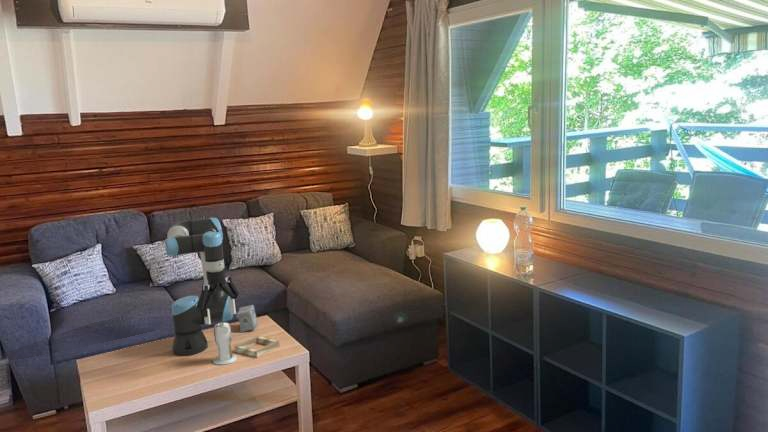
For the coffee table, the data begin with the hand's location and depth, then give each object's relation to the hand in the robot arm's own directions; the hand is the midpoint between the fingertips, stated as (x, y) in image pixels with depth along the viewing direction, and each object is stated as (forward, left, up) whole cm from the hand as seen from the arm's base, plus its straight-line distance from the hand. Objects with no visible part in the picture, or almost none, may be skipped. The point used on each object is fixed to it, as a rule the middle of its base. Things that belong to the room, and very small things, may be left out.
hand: (220, 318), depth 257 cm
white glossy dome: (0, 0, -19) cm, 18 cm away
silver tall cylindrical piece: (0, 0, -18) cm, 18 cm away
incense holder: (-19, +31, -19) cm, 41 cm away
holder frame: (+4, +15, -18) cm, 24 cm away
